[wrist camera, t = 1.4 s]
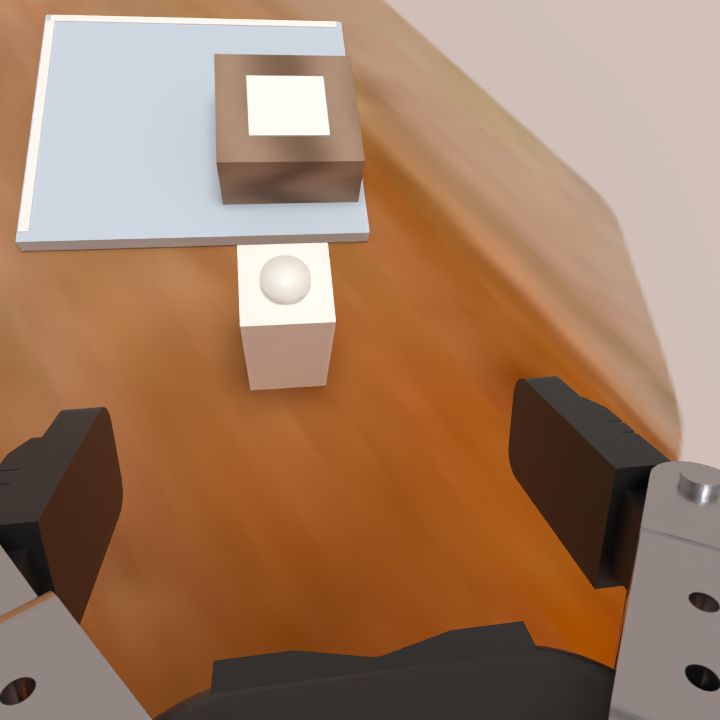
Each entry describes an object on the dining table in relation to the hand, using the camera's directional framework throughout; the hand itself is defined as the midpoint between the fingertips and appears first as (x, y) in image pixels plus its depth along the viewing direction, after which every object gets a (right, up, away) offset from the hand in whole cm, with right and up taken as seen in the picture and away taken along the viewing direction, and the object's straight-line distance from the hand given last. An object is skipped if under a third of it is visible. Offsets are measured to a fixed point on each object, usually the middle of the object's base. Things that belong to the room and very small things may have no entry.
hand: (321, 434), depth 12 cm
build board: (-11, +18, +31) cm, 38 cm away
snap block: (-4, +2, +25) cm, 25 cm away
